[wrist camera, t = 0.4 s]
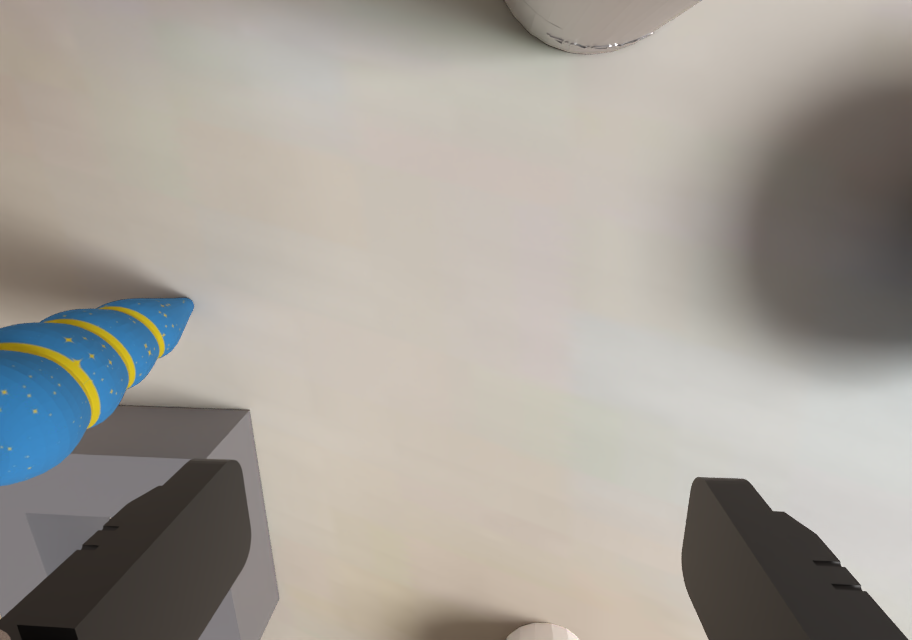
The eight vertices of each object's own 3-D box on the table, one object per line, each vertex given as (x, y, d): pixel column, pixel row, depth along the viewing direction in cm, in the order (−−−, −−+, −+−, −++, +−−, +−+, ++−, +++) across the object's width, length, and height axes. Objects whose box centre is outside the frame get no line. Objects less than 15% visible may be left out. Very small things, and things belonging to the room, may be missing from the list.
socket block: (15, 401, 32) (-68, 447, 27) (249, 410, 31) (205, 459, 26) (77, 586, 37) (15, 651, 32) (279, 598, 36) (246, 668, 31)
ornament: (220, 256, 27) (-71, 382, 13) (246, 344, 29) (12, 538, 15) (132, 267, 28) (-234, 399, 14) (162, 353, 30) (-137, 547, 16)
